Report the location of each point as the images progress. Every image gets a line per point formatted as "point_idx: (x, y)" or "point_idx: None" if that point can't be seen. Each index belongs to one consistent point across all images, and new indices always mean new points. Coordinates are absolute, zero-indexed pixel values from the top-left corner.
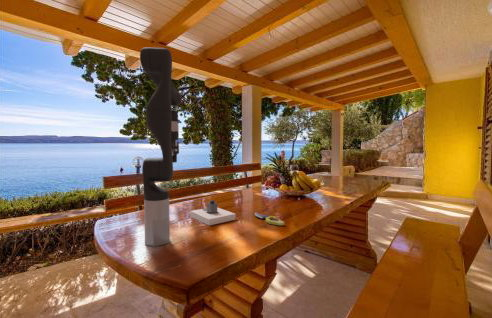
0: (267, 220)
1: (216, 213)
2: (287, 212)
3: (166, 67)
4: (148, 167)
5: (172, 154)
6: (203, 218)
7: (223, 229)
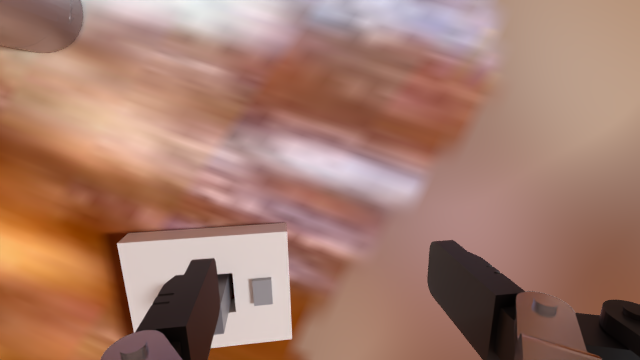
0: None
1: None
2: None
3: None
4: None
5: (139, 336)
6: (164, 237)
7: (54, 256)
